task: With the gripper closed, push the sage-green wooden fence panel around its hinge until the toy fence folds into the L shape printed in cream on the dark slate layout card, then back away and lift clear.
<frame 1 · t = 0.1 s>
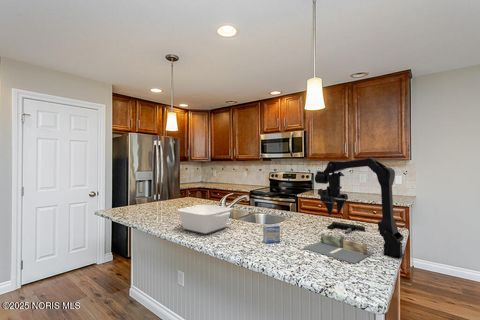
hand: (334, 213, 136), 14 cm above the countertop, tool pointing down, fingers open, 9 cm apart
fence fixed: (342, 248, 124), resting on layout card
door handle: (344, 231, 158), on the countertop
tub: (204, 230, 158), on the countertop
medicine box: (271, 242, 134), on the countertop
layout card: (337, 250, 121), on the countertop
folding panel: (330, 239, 128), point 3 cm above the countertop, hinge at 0.0°
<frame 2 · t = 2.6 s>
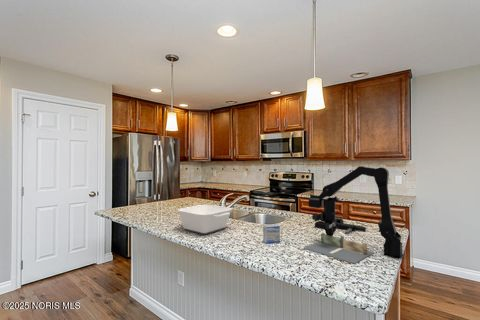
hand: (329, 239, 131), 2 cm above the countertop, tool pointing down, fingers closed
folding panel: (330, 239, 128), point 3 cm above the countertop, hinge at 0.0°, touching gripper
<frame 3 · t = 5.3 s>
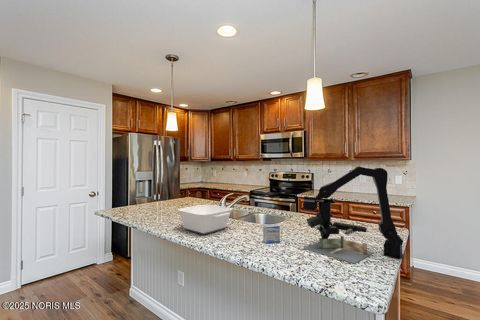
hand: (324, 243, 126), 2 cm above the countertop, tool pointing down, fingers closed
folding panel: (329, 242, 124), point 3 cm above the countertop, hinge at 51.3°, touching gripper
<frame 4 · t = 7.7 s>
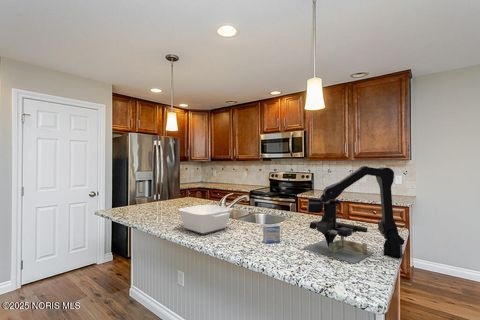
hand: (329, 246, 120), 2 cm above the countertop, tool pointing down, fingers closed
folding panel: (335, 245, 120), point 3 cm above the countertop, hinge at 90.4°, touching gripper
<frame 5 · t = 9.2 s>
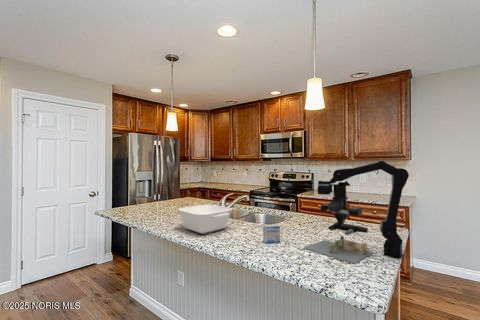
hand: (340, 227, 124), 10 cm above the countertop, tool pointing down, fingers closed
folding panel: (335, 245, 120), point 3 cm above the countertop, hinge at 90.5°
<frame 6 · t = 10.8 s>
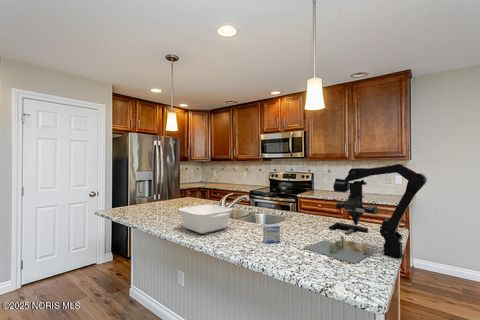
hand: (355, 225, 126), 11 cm above the countertop, tool pointing down, fingers closed
at the end: folding panel at +90° (first picture: +0°) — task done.
